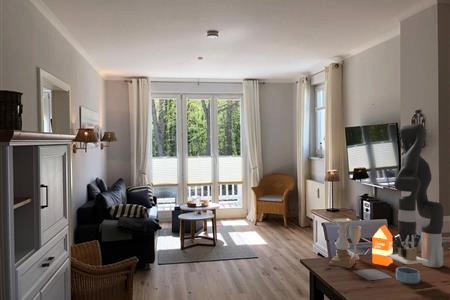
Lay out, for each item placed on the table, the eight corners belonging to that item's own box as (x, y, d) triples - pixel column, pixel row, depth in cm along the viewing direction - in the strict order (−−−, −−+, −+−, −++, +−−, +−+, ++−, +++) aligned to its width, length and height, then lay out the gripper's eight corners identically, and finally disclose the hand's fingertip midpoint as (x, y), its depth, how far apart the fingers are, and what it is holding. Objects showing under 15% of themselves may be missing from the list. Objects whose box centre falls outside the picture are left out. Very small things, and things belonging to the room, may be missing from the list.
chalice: (360, 262, 197) (360, 228, 197) (347, 260, 200) (347, 227, 200) (362, 258, 203) (362, 226, 203) (350, 256, 207) (350, 224, 206)
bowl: (408, 276, 175) (408, 266, 175) (424, 283, 166) (424, 272, 166) (391, 278, 172) (391, 268, 172) (406, 286, 163) (406, 275, 163)
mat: (374, 269, 185) (374, 268, 185) (392, 278, 172) (392, 277, 172) (351, 272, 181) (351, 271, 181) (369, 282, 168) (368, 280, 168)
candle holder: (350, 269, 185) (350, 222, 185) (328, 266, 191) (328, 220, 191) (355, 263, 194) (355, 219, 194) (335, 260, 200) (335, 217, 200)
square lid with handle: (408, 254, 176) (408, 243, 176) (428, 261, 165) (428, 250, 165) (387, 256, 173) (387, 245, 173) (406, 264, 161) (406, 252, 161)
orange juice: (372, 264, 193) (372, 226, 193) (377, 260, 200) (377, 223, 199) (387, 267, 188) (387, 228, 188) (392, 263, 194) (392, 225, 194)
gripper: (413, 217, 174) (413, 253, 174) (388, 218, 170) (388, 255, 171) (426, 220, 167) (425, 257, 167) (400, 222, 163) (400, 260, 163)
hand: (407, 256), depth 169 cm, fingers closed on square lid with handle, 3 cm apart
